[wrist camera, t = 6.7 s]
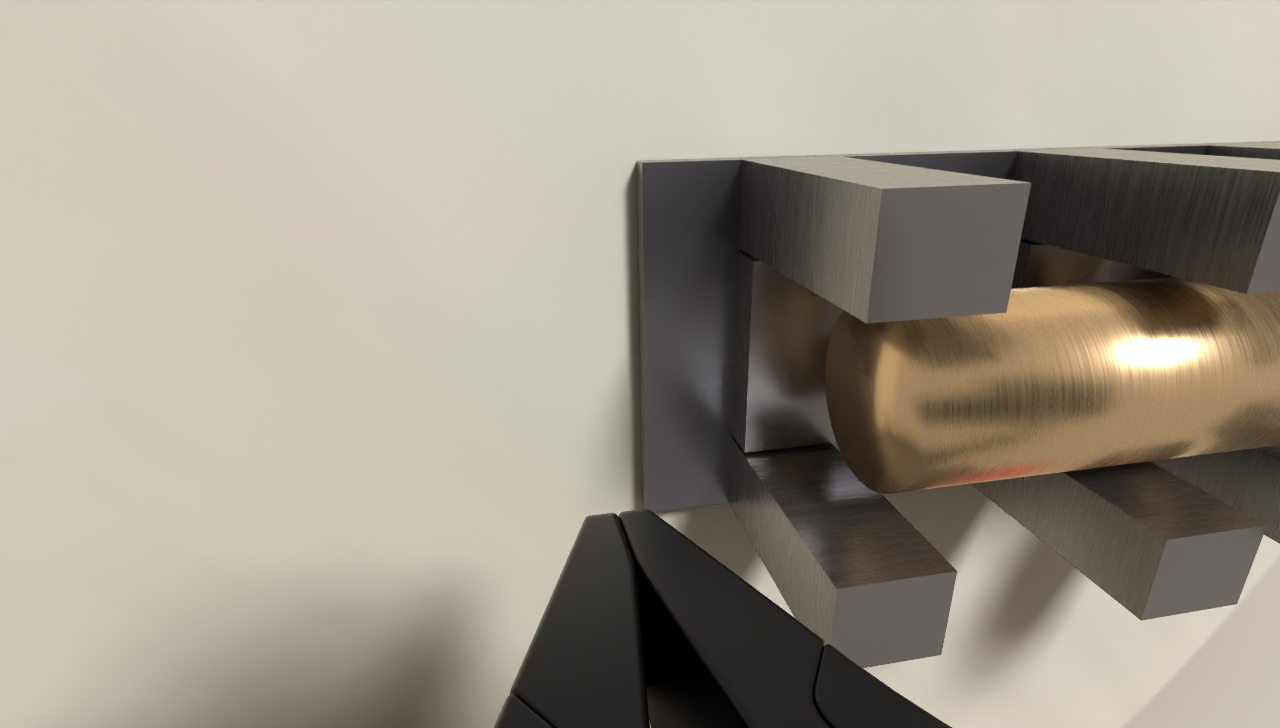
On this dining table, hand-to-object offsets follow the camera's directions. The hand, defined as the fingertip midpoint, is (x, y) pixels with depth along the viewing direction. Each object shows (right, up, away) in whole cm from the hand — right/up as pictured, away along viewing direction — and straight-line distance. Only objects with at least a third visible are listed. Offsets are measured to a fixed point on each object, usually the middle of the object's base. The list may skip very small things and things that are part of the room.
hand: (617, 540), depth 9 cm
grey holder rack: (+11, +4, +10) cm, 15 cm away
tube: (+12, +3, +8) cm, 14 cm away
